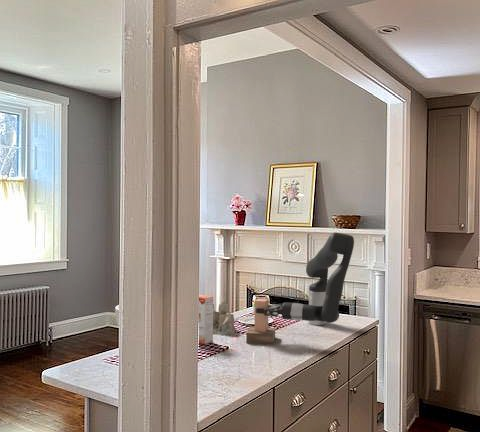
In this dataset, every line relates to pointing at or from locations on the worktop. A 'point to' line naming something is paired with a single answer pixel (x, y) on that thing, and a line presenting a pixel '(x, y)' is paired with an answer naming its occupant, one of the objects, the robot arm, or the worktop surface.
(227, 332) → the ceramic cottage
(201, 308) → the cracker box
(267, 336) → the walnut base
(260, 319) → the terracotta block
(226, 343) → the worktop surface
